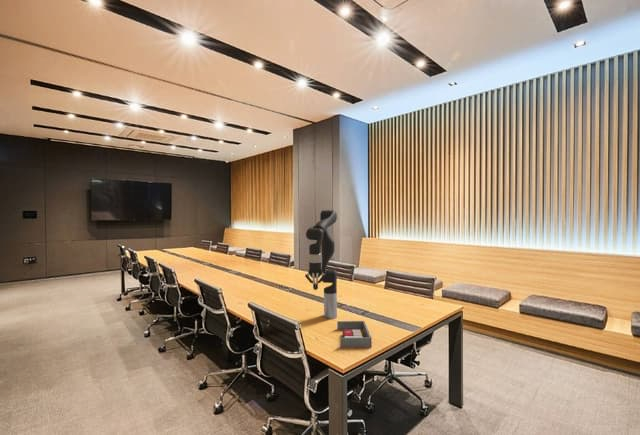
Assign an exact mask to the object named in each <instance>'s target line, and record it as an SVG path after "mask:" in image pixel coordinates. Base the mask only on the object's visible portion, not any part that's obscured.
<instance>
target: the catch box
mask: <svg viewBox="0 0 640 435" xmlns="http://www.w3.org/2000/svg"><path fill="white" fill-rule="evenodd" d="M336 324H337V328H336V329H337V330H338V331H341V330H342V331H343V330H363V333H364V336H365V337H364V336H363V337H357V338H343V337H339V343H340V344H339V346H340V347H339V348H341V349H342V348H347V349H348V348H372V344H373V342H372V336H371V334H370V330H369V329H368V327H367V324H366V321H365V320H338V321H337V323H336Z"/></svg>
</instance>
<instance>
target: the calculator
mask: <svg viewBox="0 0 640 435" xmlns="http://www.w3.org/2000/svg"><path fill="white" fill-rule="evenodd" d="M357 337H364V336H363V333H362V329H353V330H342V338H357Z"/></svg>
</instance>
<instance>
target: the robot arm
mask: <svg viewBox="0 0 640 435" xmlns="http://www.w3.org/2000/svg"><path fill="white" fill-rule="evenodd" d="M319 218H320V220H319V221H317V223H316V224H314V225H311V227H309V228H308V229H307V230H306V232H305V236H306V238H307V240H310V241H315V243H311V244H309V246H308V247H309V248H308V250H309V253H308V254H309V255H308V273H305V276H304V277H305V278H306V279H307V280H308V281H309V283H310V284H312V288H313V290H314V291H318V289H319V284H320V283H323V284H324V283H325V284H330V285H328V286H325V287H324V288H323V317H324V318H325V319H336V318H338V300H337V299H338V288H337V286H338V285H337V282H338V281H337V280H338V273H337V272H338V271H337V270H336V269H327V266H328V264H329V261H330V259H331V258H332V257H333V256H334V253H335V240H334V238H333V236H332V235H331V233H330V232H329V230H328V228H329V227H331V226H332V225H334V224H336V222H337V219H338V214H337V211H335V210H331V209H330V210H329V209H326V210H325V209H324V210H323V209H322V210H321V211H320V216H319ZM310 277H311V278H312V279H311V278H310Z"/></svg>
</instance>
